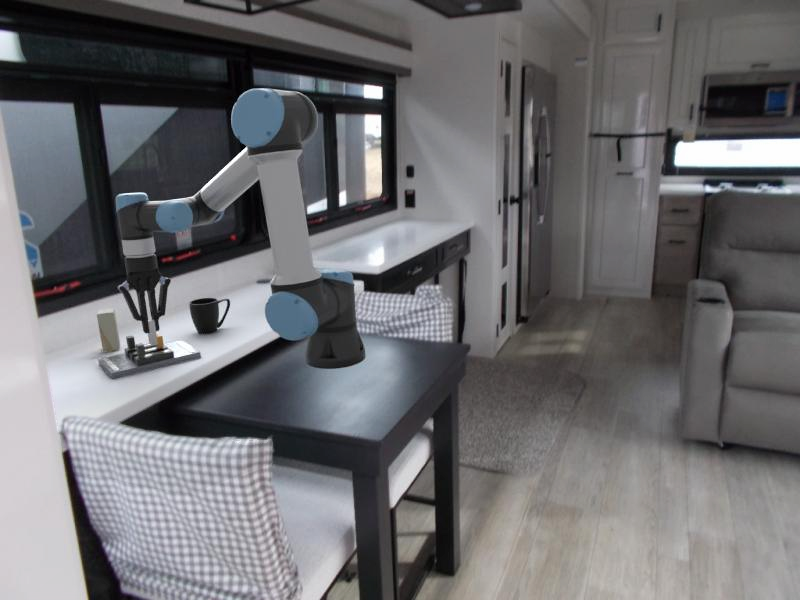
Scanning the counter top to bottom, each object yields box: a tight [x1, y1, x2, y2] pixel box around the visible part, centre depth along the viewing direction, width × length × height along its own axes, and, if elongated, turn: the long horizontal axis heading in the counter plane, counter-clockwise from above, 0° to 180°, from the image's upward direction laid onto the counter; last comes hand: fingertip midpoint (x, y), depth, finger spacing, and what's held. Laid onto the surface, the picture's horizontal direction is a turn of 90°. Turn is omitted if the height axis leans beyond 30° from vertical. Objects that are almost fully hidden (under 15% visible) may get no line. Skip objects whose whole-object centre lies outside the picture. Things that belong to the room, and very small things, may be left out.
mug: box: [188, 297, 231, 335], centre depth 186 cm, size 8×12×10 cm
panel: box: [97, 335, 202, 380], centre depth 162 cm, size 14×22×6 cm, turn 128°
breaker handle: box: [156, 333, 165, 348], centre depth 163 cm, size 2×2×3 cm
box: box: [96, 308, 121, 353], centre depth 173 cm, size 5×4×11 cm
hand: (153, 343), depth 162 cm, fingers closed
